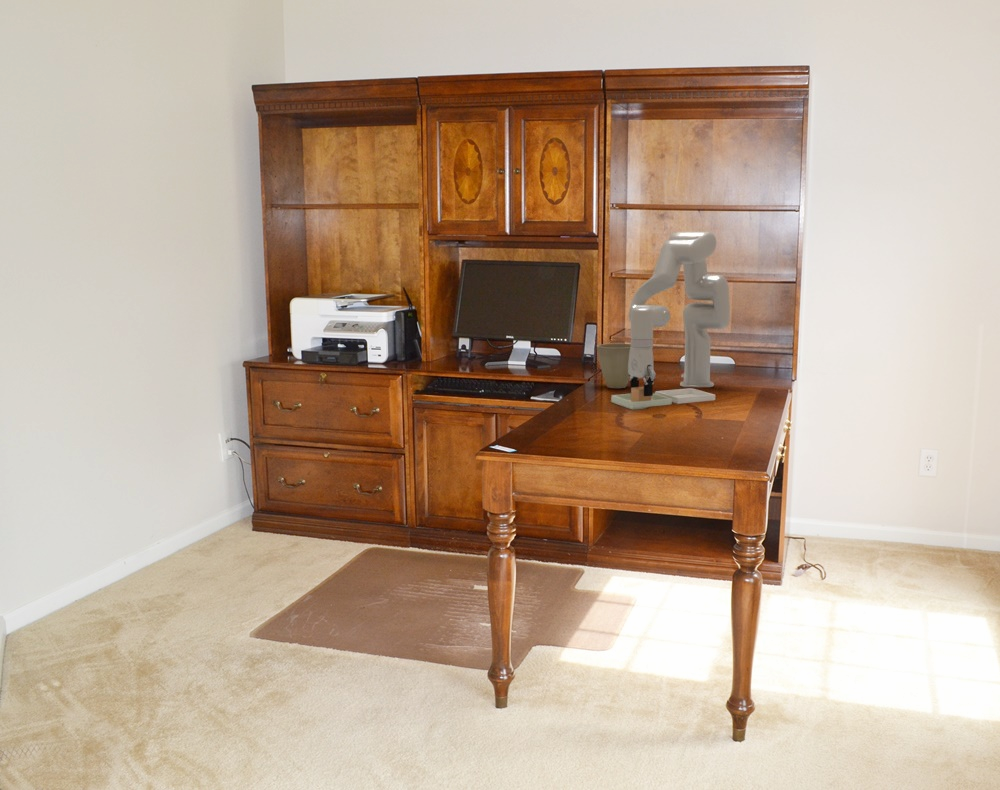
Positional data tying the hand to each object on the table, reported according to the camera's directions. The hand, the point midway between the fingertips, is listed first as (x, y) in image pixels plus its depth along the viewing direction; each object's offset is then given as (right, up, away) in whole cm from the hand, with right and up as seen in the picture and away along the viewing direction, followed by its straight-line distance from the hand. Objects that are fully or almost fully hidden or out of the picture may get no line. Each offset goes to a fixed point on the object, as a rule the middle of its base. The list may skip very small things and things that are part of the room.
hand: (641, 393), depth 327 cm
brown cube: (0, -3, +1) cm, 3 cm away
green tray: (0, -4, +1) cm, 4 cm away
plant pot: (-4, +2, +36) cm, 36 cm away
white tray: (+16, -2, +7) cm, 18 cm away
